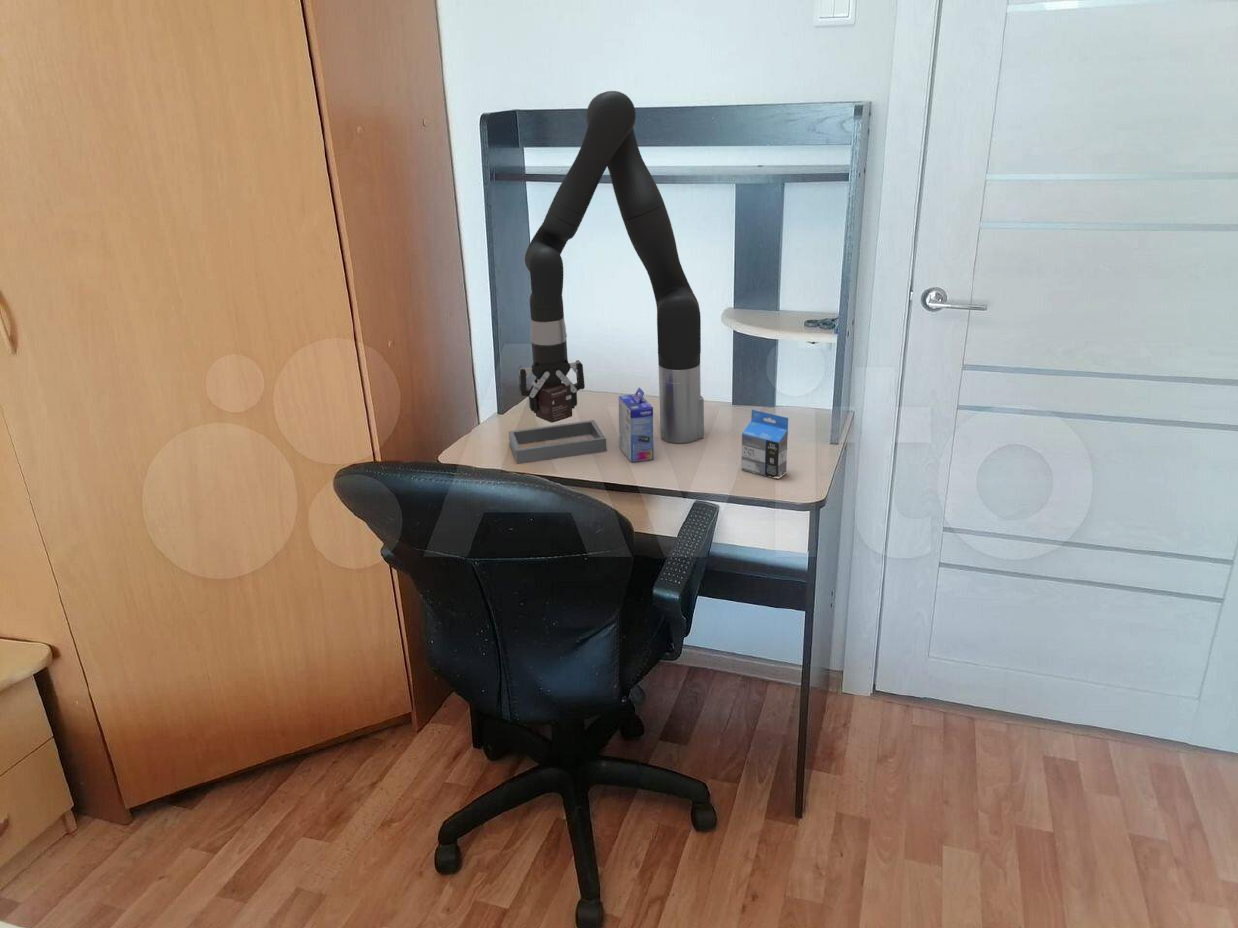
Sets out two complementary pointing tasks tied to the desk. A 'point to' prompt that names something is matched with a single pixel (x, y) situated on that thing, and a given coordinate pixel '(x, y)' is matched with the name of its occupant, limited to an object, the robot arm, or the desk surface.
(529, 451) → the box
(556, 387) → the box
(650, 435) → the ink cartridge box
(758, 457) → the ink cartridge pack
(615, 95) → the robot arm
